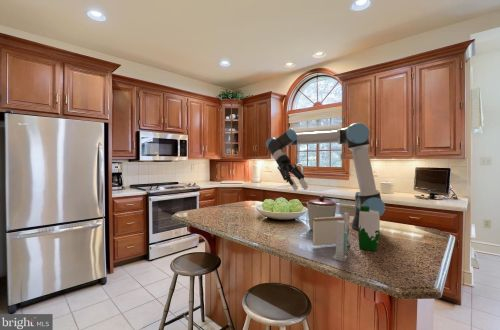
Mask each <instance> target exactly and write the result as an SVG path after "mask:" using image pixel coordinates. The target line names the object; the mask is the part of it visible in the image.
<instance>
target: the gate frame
mask: <svg viewBox="0 0 500 330" xmlns="http://www.w3.org/2000/svg"><path fill="white" fill-rule="evenodd" d="M343 217H344V220H343V221H337V232H336V244H335V253H334V254H333V257H332V260H333V261H334V260H335V261H340V262H343V263H344V262H346V260H347V259H348V256H347V255H345V253H346V252H347V251H348V247H350V246H351V242H350V241H349V240H350V212H344V213H343Z"/></svg>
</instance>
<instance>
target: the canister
mask: <svg viewBox="0 0 500 330" xmlns="http://www.w3.org/2000/svg"><path fill="white" fill-rule="evenodd" d="M305 203H306V206H307V207H306V208H307V218H308V227H309V229H310V230H311V231H312V232H313V218H323V217H336V213H337V211H336V210H337V207H338V203H336V202H335V201H332V200H327V199H326V197H325V196H324V195H319V196H318V199H310V200H308V201H306V202H305Z"/></svg>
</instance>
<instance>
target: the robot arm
mask: <svg viewBox="0 0 500 330" xmlns="http://www.w3.org/2000/svg"><path fill="white" fill-rule="evenodd" d="M369 138H370V129H369V127H368V126H367V125H366V124H364V123H362V122H355V123H352V124H350V125H349V126H347V127H343V128H338V129H337V130H331V131H329V130H328V131H327V130H326V131H313V132H311V131H310V132H298V133H297V132H296V131H295V130H294V129H293V128H289V129H287V130H286V131H284V132H283V133H282V134H280V135H279V136H278V137H274V136H273V137H270V138H268V139H267V140H266V141H265V146H266V148H267V150H268V152H269V153H270V154H271V156H272V157H273V159H274V160H275V162H276V164H277V167H276V169H278V171H279V173H280V174H281V176H282V179H283V181H285V182H286V183H289V185H290V186H291V187H292V189H293V190H294V191H295V192H296V191H297V190H298V189H299V187H298V185H297V183H296V182H295V180H294V179H293V178H292V177H291V174H292V175H293V176H294V177H296V179H297V180H298V182H299V184H300V185H301V187H302V188H303V190H304V191H306V190H307V189H308V188H309V186H308V184H307V182H306V181H305V180H304V178H305V175H304V174H303V172H302V171H301V170H300V169H299V168H298V166H297V165H296V164H294V165H293V164H292V163H291V159H290V157H289V155H288V154H287V153H286V152H285V150H284V149H285V148H286V147H291V146H298V145H299V146H302V145H319V144H322V145H323V144H338V145H347V149H348V150H349V151H351V153H352V159H353V165H354V168H355V174H356V178H357V185H358V188H359V191H356V192H355V196H354V199H355V200H354V217H353V219H352V222H351V228H352V229H354V230H356V231H359V212H360V206H368V207H369V210H373V211H379V218H380V217H381V216H383V215H384V213H385V211H386V204H385V202H384V201H383V200H382V195H381V191H379V190H378V189H377V187H376V182H375V177H374V172H373V168H372V163H371V157H370V153H369V147H370V139H369Z"/></svg>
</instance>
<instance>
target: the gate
mask: <svg viewBox="0 0 500 330" xmlns="http://www.w3.org/2000/svg"><path fill="white" fill-rule="evenodd" d="M337 221H344V216H335V217H323V218H313V231H312V245H313V246H316V247H317V246H325V245H326V246H327V245H336V232H337Z"/></svg>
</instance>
